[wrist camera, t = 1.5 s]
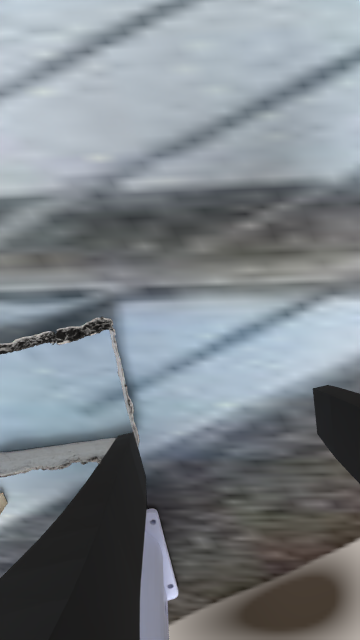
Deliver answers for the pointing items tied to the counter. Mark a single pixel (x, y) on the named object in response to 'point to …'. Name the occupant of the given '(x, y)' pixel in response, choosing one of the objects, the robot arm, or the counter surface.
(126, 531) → the robot arm
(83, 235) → the counter surface
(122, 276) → the counter surface
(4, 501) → the oak frame
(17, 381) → the counter surface
